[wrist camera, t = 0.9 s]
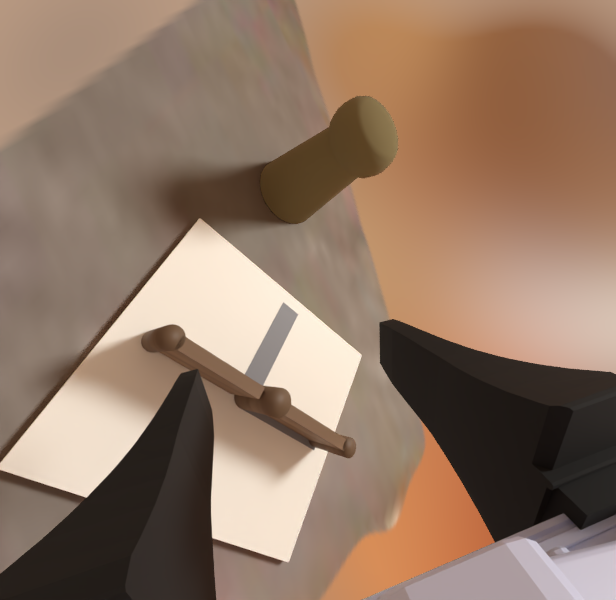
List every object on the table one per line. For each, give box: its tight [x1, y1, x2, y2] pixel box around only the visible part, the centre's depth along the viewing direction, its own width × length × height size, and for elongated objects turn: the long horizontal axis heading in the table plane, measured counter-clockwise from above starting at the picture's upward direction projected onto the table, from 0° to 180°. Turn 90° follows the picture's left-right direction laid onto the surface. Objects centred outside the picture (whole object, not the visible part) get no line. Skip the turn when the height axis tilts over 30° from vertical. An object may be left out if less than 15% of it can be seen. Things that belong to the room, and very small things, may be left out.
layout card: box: [0, 218, 362, 562], centre depth 23 cm, size 18×20×1 cm
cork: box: [260, 96, 398, 224], centre depth 25 cm, size 6×6×11 cm
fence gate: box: [141, 324, 265, 399], centre depth 20 cm, size 1×7×4 cm, turn 61°
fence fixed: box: [234, 385, 356, 458], centre depth 23 cm, size 2×9×4 cm, turn 61°
